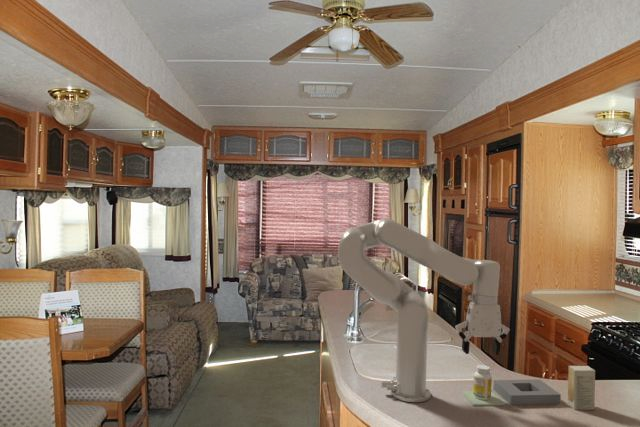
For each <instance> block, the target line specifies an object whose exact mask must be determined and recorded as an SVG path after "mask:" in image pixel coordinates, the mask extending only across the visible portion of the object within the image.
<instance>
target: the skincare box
mask: <svg viewBox="0 0 640 427" xmlns="http://www.w3.org/2000/svg"><path fill="white" fill-rule="evenodd" d="M567 378H568V380H567V381H568V383H567V384H568V386H567V405H569V406H570V408H572V409H573V410H583V411H585V410H589V411H592V410H595V405H596V404H595V396H596V395H595V394H596V391H595V390H596V370H595V369H594V368H592V367H590V366H589V365H568V377H567Z"/></svg>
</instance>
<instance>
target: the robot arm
mask: <svg viewBox="0 0 640 427" xmlns="http://www.w3.org/2000/svg"><path fill="white" fill-rule="evenodd" d="M379 246H384V247H386V248H388V249H390V250H392V251H394V252H396V253H399V254H401V256H403V257H406V258H408V259H410V260H412V261H414V262H415V263H418V264H419V265H421V266H423V267H425V268H427V269H430V270H432V271H434V272H435V273H438V274H439V275H441V276H443V277H444V278H447V279H449V280H451V281H453V282H455V283H457V284H459V285H461V286H471V285H472V293H471V294H470V295H467V299H468V300H470V301H469V305H468V308H467V312H466V317H465V320H464V321H463V322H460V323H458V324H456V325H455V326H454V327H455V330H456V332H457V335H458V336H459V337H460V338H461V339H462V342H461V344H462V345H461V350H462V352H463V353H465V355H469V353H470V339H471V338H472V337H475V338H493V340H492V347H491V349H492V350H491V352H492V353H493V354H494V355H496V356H499V353H500V352H501V343H503V340H505V339H506V338H507V335H508V333H509V332H510V330H511V329H510V327H507V326H506V325H505V324H502V313H501V305H499V304H498V296H499V286H500V285H499V284H500V272H501V265H500V263H499V262H498V261H494V260H490V259H472V258H468V257H463V256H460V255H457V254H456V253H453V252H452V251H450V250H448V249H446V248H444V247H442V246H441V245H440V244H438V243H436V242H435V241H434V240H433V239H431V238H429V237H427V236H425V235H423V234H421V233H419V232H417V231H415V230H413V229H412V228H409V227H407V226H405V225H403V224H402V223H399V222H397V221H396V220H394V219H392V218H389V217H388V218H382V219H378V220H375V221H372V222H368V223H367V222H366V223H363V224H361V225H357V226H352V227H351V228H348V229H346V230H345V231H344V232H343V233H342V235H341V236H340V239H339V243H338V248H337V249H338V250H337V258H338V261H339V265H340V266H341V269H342V270H343V271H344V272H345V274H346V275H347V276H348V277H350V278H351V280H353V281H354V282H355V283H356V284H357V285H359V287H361V288H362V289H363V290H364V291H365V292H367V293H368V294H369V295H370V296H371V297H373V298H374V299H375V300H376V301H377V302H378V303H380V304H382V305H387V306H389V307H390V308H391V309H392V310H394V311H395V312H396V313H397V328H396V361H395V363H396V364H395V376H394V377H393V379H392V380H390V381H387V380H386V381H383V380H382V381H380V387H381V389H383V388H385V389H386V390H387V391H390V395H391V396H393V398H395V399H397V400H399V401H403V402H409V403H422V402H423V403H424V402H426V401H428V400H430V398H431V396H432V395H431V394H432V392H431V390H430V389H429V388H428V387H427V360H428V357H427V356H428V330H429V322H430V321H429V320H430V315H429V314H430V313H429V309H428V306H427V304H426V302H425V301H424V299H423V296H421V295H420V293H418V292H417V291H415V290H414V289H413V288H412V287H410V286H409V285H408V284H407V283H406V282H405V281H403V279H401V278H400V277H398V276H397V275H396V274H394V273H393V272H390V271H388V270H387V271H386V270H383V269H382V268H380V267H379V266H378V265H377V264H376V263H374V262H373V261H372V260H371V259H370V258H368V257H367V255H366V252H365V251H366V250H369V249H372V248H376V247H379ZM462 329H465V332H464V333H463V330H462Z"/></svg>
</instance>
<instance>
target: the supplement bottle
mask: <svg viewBox="0 0 640 427" xmlns="http://www.w3.org/2000/svg"><path fill="white" fill-rule="evenodd" d="M490 369H491V368H490V367H489V366H488V365H485V364H477V365H476V371H475V372H474V374H473V389H472V391H473V395H474V397H475V398H477V399H481V400H488V399H490V398H491V391H492V383H493V382H492V379H493V378H492V374H491V373H490V372H491V370H490Z"/></svg>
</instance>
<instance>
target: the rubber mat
mask: <svg viewBox="0 0 640 427" xmlns="http://www.w3.org/2000/svg"><path fill="white" fill-rule="evenodd" d="M460 393H461V395H463V396H464V398H465V399H466V400H467V401H468V402H469V403H470V404H471V405H472V406H473V407H478V406H479V407H481V406H482V407H483V406H484V407H485V406H505V404H506V403H505V402H503V400H501V399H500V398H499V397H498V396H497V395H496V394H495V393H494V392H493V391H492V390H491V398H490V399H488V400H481V399H477V398H475V397H474V395H473V390H460Z"/></svg>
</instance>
